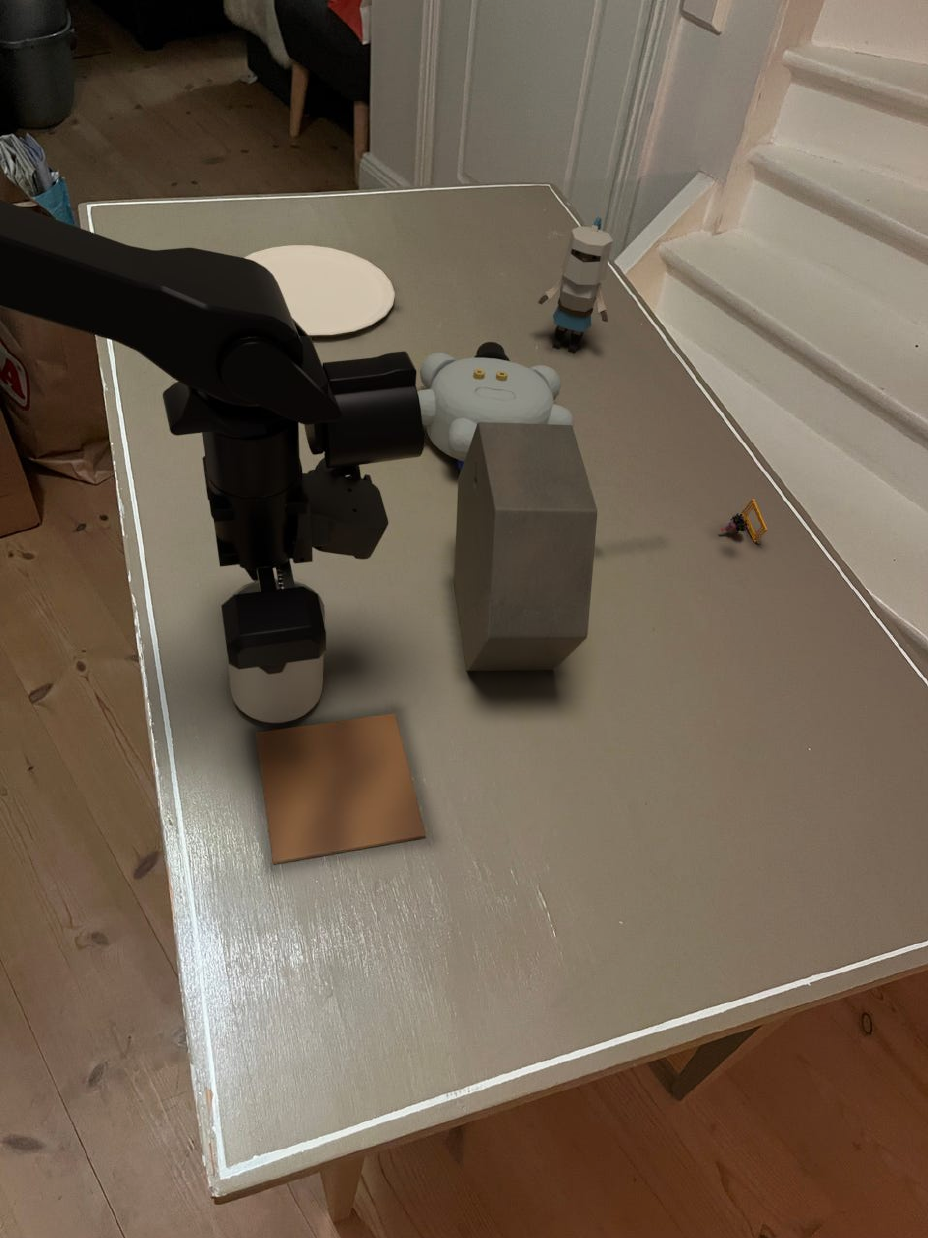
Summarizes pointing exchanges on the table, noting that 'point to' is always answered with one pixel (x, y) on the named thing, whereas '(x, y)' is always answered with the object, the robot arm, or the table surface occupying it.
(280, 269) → the plate
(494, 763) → the table surface
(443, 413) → the figurine
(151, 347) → the robot arm
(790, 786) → the table surface
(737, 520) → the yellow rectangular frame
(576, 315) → the toy
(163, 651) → the table surface
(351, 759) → the coaster
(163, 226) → the table surface
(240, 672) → the cup
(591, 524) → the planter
